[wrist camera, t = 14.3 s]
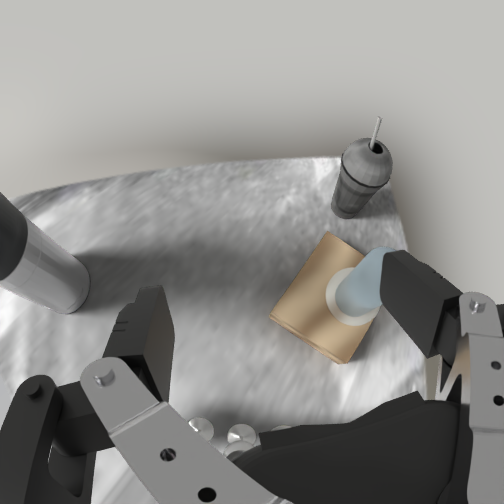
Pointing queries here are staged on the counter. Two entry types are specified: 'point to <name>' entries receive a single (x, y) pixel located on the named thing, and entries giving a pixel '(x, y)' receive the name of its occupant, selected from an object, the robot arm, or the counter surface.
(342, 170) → the beverage cup
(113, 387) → the robot arm
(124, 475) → the counter surface
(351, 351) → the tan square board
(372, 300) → the pale blue domed cylinder
